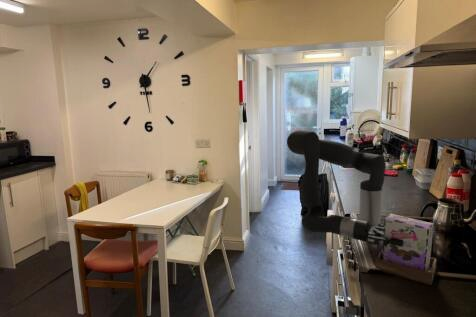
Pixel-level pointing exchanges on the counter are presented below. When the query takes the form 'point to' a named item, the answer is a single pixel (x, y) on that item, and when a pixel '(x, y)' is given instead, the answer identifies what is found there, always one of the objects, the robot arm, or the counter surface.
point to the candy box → (408, 241)
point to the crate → (407, 270)
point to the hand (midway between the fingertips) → (405, 239)
